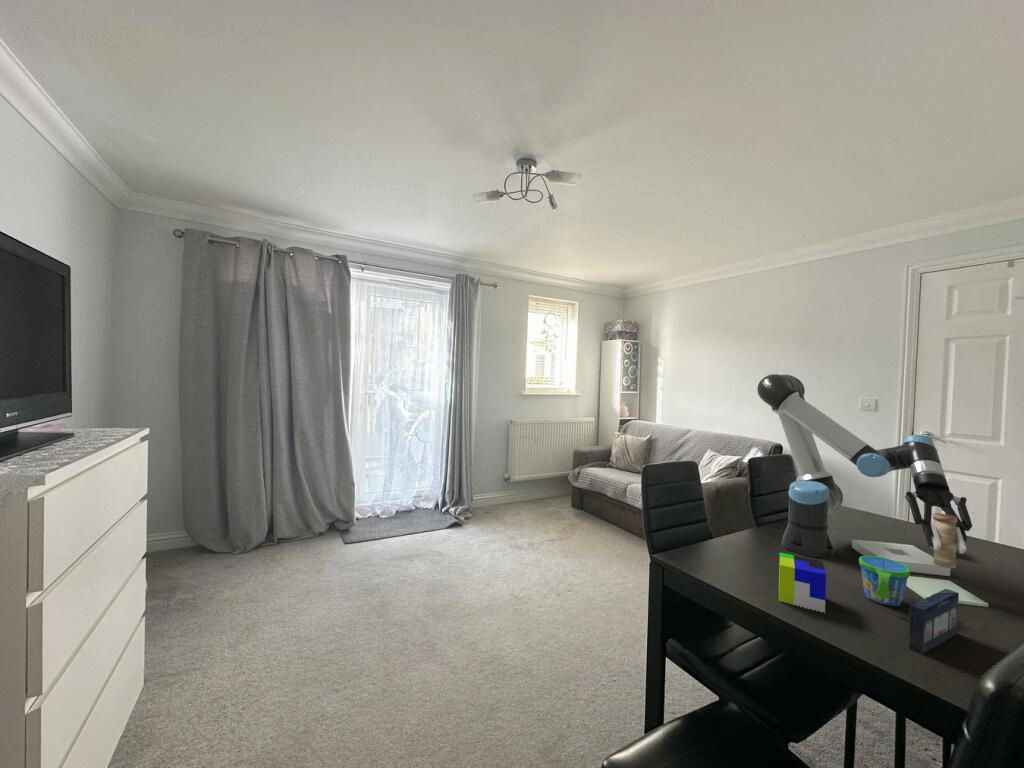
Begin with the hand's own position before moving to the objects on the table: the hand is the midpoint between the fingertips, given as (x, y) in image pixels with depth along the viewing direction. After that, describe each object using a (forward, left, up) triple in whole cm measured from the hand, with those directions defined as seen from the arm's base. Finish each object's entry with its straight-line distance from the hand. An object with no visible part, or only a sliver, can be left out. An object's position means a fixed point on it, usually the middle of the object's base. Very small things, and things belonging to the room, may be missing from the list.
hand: (950, 549), depth 118 cm
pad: (0, +4, -14) cm, 14 cm away
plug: (+1, +4, -6) cm, 7 cm away
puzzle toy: (-41, -13, -14) cm, 45 cm away
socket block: (+2, +26, -14) cm, 30 cm away
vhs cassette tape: (-19, -26, -14) cm, 35 cm away
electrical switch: (+22, +41, -14) cm, 49 cm away
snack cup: (-19, -7, -14) cm, 24 cm away
